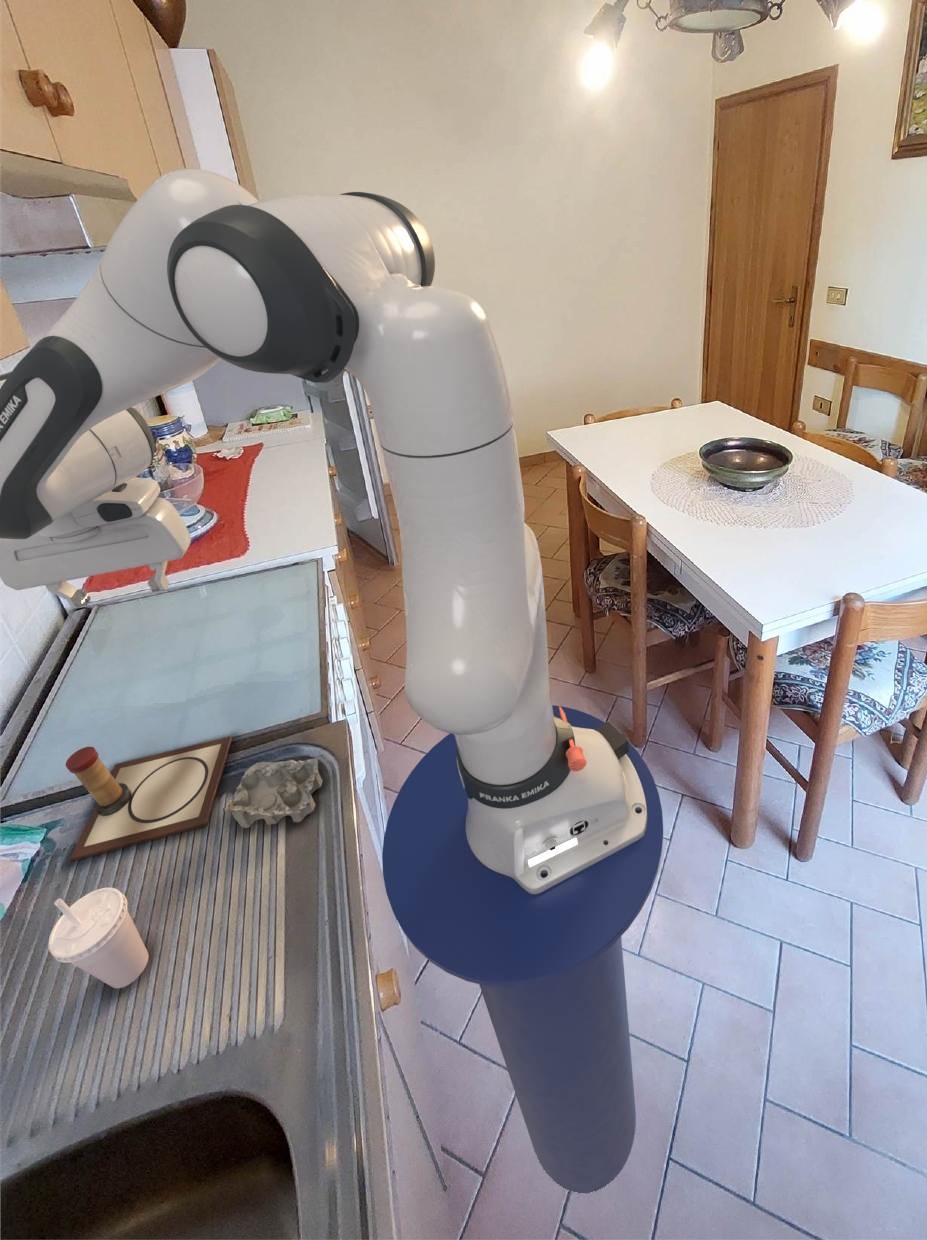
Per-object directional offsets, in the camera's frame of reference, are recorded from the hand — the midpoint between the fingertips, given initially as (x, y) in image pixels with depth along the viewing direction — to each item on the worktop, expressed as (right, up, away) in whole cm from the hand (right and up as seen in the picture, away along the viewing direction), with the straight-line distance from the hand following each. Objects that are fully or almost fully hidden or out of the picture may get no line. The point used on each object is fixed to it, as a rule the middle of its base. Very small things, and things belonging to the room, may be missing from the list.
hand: (122, 596), depth 78 cm
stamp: (-4, -29, +4) cm, 29 cm away
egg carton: (+19, -28, +3) cm, 34 cm away
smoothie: (+11, -38, -13) cm, 41 cm away
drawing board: (+2, -28, +5) cm, 29 cm away
